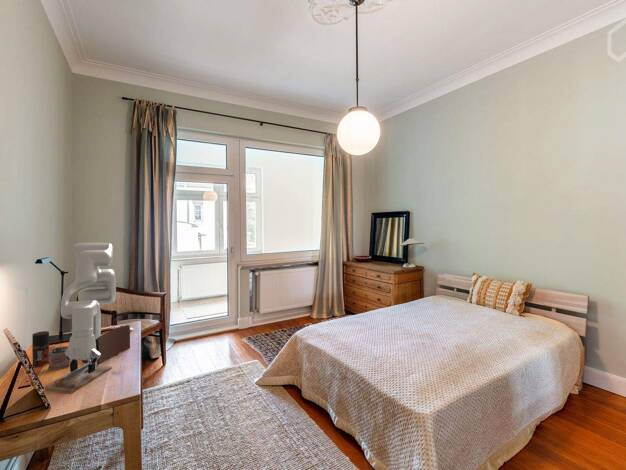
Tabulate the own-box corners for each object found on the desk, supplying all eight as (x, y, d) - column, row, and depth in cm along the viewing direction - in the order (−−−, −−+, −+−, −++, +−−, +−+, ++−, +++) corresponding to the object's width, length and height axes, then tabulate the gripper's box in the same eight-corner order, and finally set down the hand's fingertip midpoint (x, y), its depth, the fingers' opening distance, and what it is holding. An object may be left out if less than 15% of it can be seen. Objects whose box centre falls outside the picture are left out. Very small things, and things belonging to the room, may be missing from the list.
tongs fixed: (93, 366, 142) (93, 359, 142) (98, 366, 142) (98, 359, 142) (56, 387, 124) (56, 379, 124) (61, 387, 124) (61, 379, 124)
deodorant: (46, 360, 149) (46, 330, 149) (50, 363, 146) (50, 333, 145) (30, 364, 144) (30, 333, 144) (34, 368, 141) (34, 336, 140)
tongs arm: (93, 368, 140) (93, 362, 140) (96, 368, 140) (96, 361, 140) (71, 387, 124) (71, 379, 124) (75, 386, 124) (75, 379, 124)
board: (88, 366, 144) (88, 364, 144) (111, 368, 143) (111, 366, 143) (45, 390, 123) (45, 388, 123) (71, 393, 122) (71, 390, 122)
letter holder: (130, 348, 166) (130, 323, 166) (99, 364, 147) (99, 335, 146) (114, 346, 168) (115, 321, 168) (81, 362, 149) (81, 334, 148)
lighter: (47, 370, 139) (47, 349, 139) (49, 367, 142) (50, 346, 142) (68, 367, 143) (68, 346, 142) (71, 364, 146) (71, 344, 145)
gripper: (57, 334, 131) (57, 373, 132) (93, 336, 130) (93, 376, 130) (72, 328, 139) (72, 365, 139) (107, 330, 137) (107, 368, 138)
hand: (82, 370), depth 135 cm, fingers open, 8 cm apart
